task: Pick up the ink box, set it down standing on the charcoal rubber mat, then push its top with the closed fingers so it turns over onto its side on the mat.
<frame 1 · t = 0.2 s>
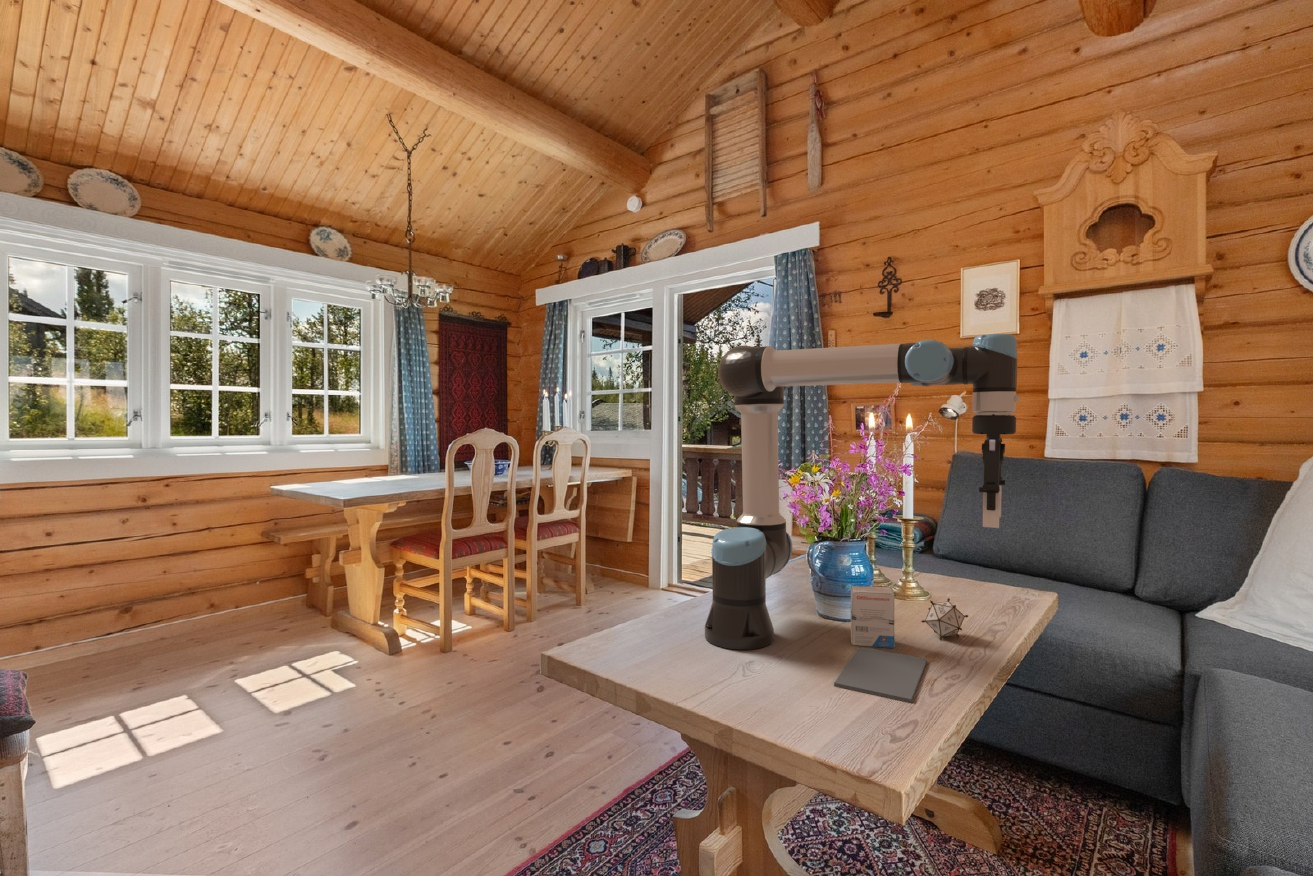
hand: (992, 522, 120), 28 cm above the table, fingers open, 13 cm apart
mat: (882, 673, 115), on the table
game die: (944, 637, 134), on the table
ink box: (871, 644, 131), on the table
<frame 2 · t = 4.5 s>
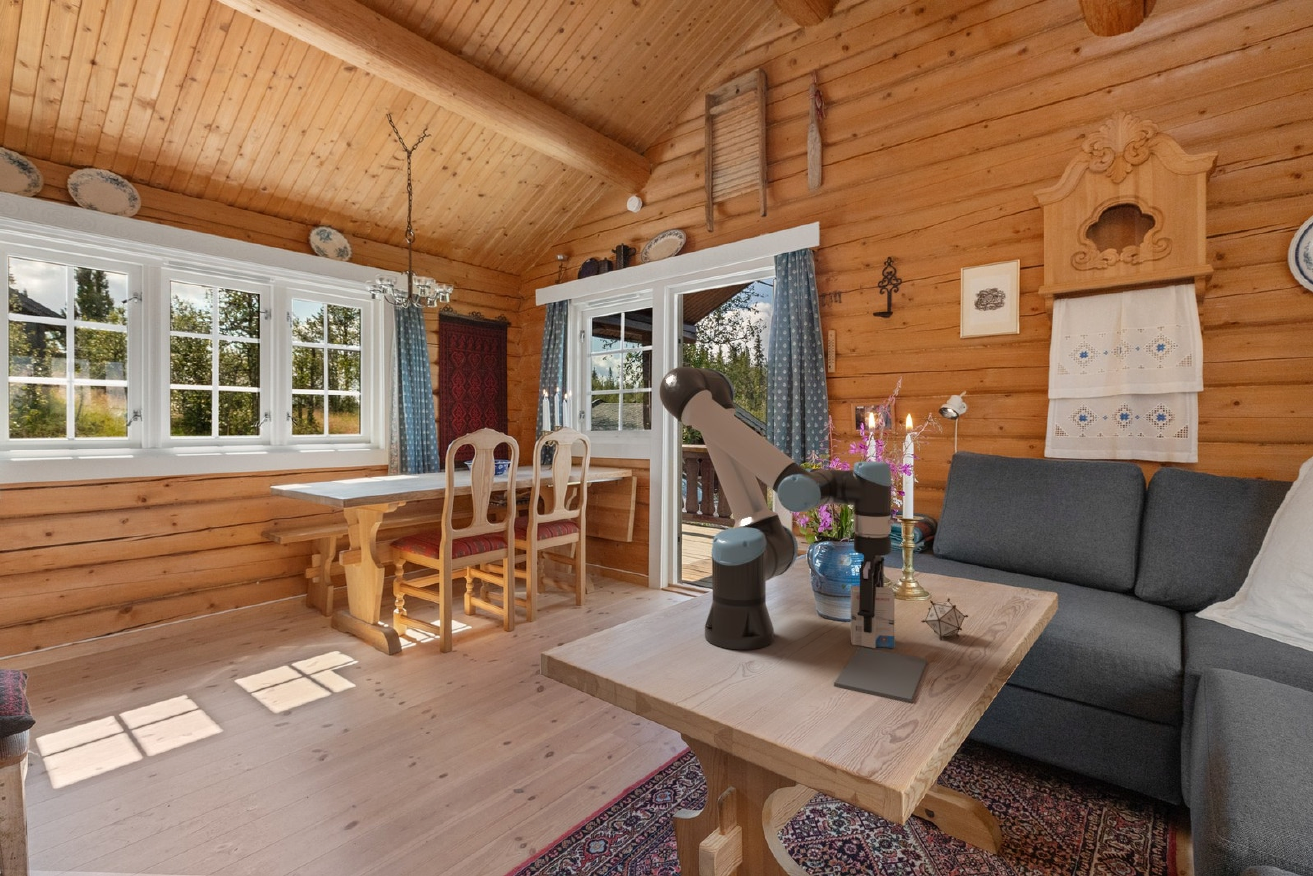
hand: (871, 641, 131), 0 cm above the table, fingers closed on ink box, 6 cm apart
ink box: (871, 644, 131), on the table, touching gripper
everything else where it was.
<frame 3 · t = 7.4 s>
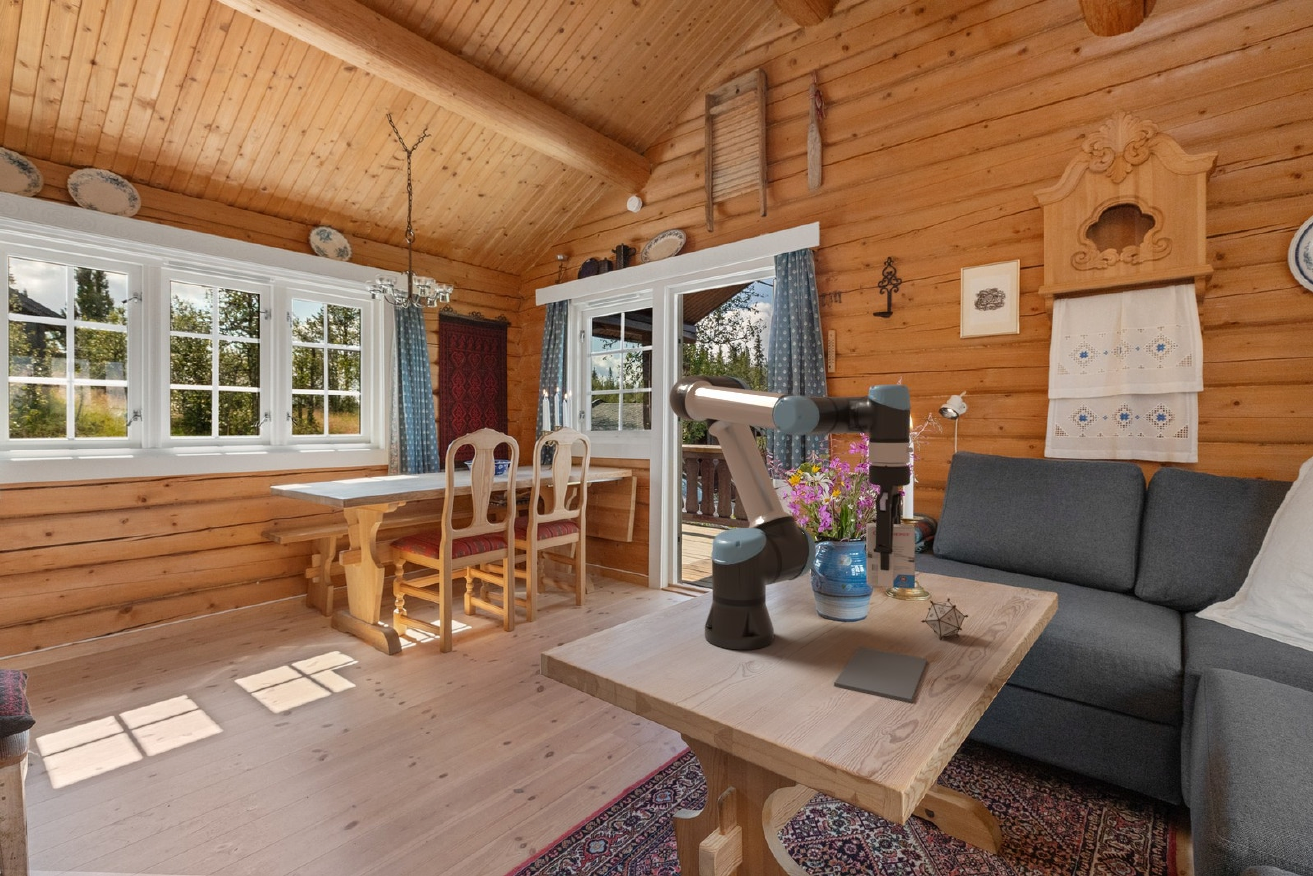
hand: (888, 582, 119), 16 cm above the table, fingers closed on ink box, 6 cm apart
ink box: (889, 585, 119), point 15 cm above the table, touching gripper
everything else where it was.
when the fingers open (2 cm above the table, at t = 10.1 s): ink box stays where it is, resting on mat.
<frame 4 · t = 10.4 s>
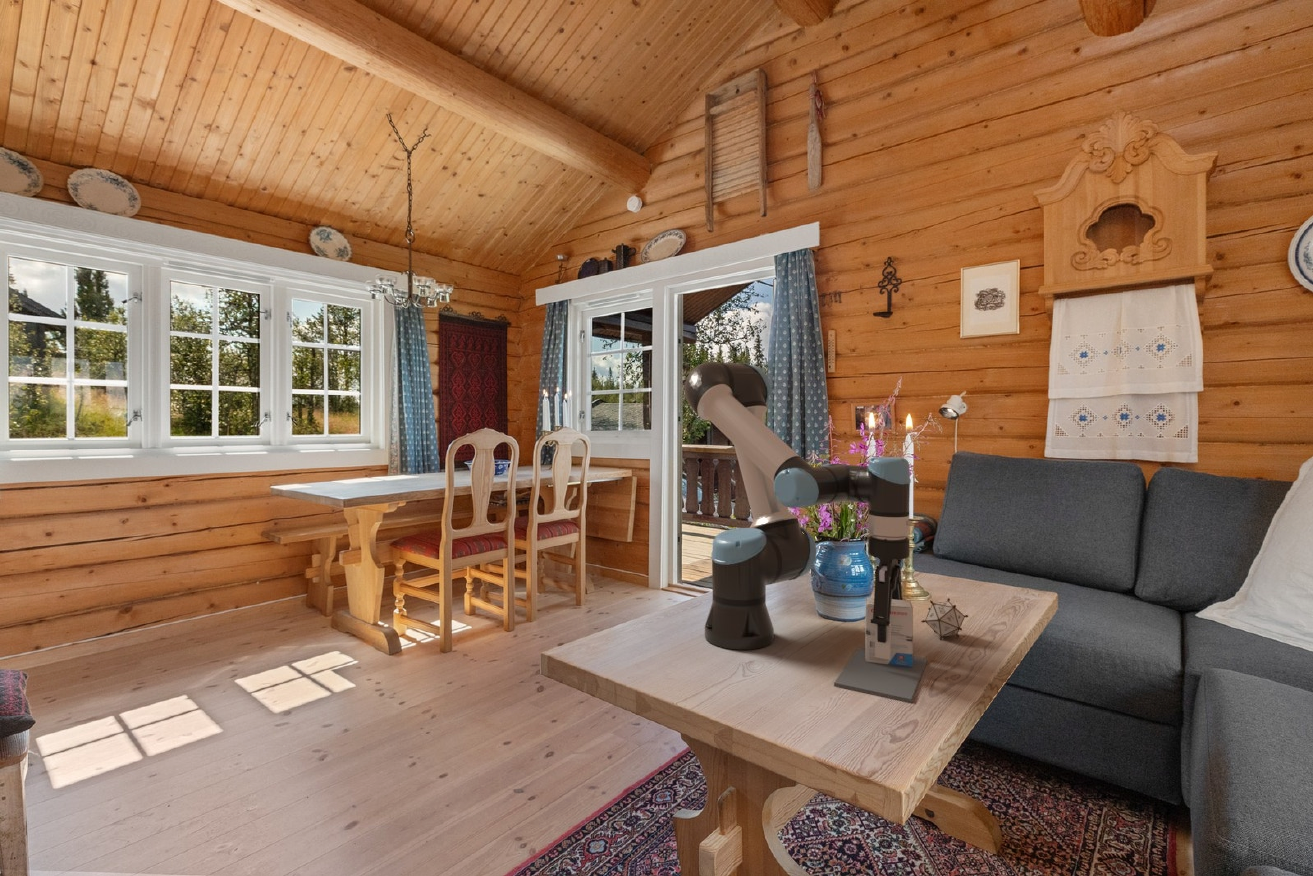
hand: (888, 648, 120), 3 cm above the table, fingers open, 10 cm apart
ink box: (888, 661, 120), resting on mat
everything else where it was.
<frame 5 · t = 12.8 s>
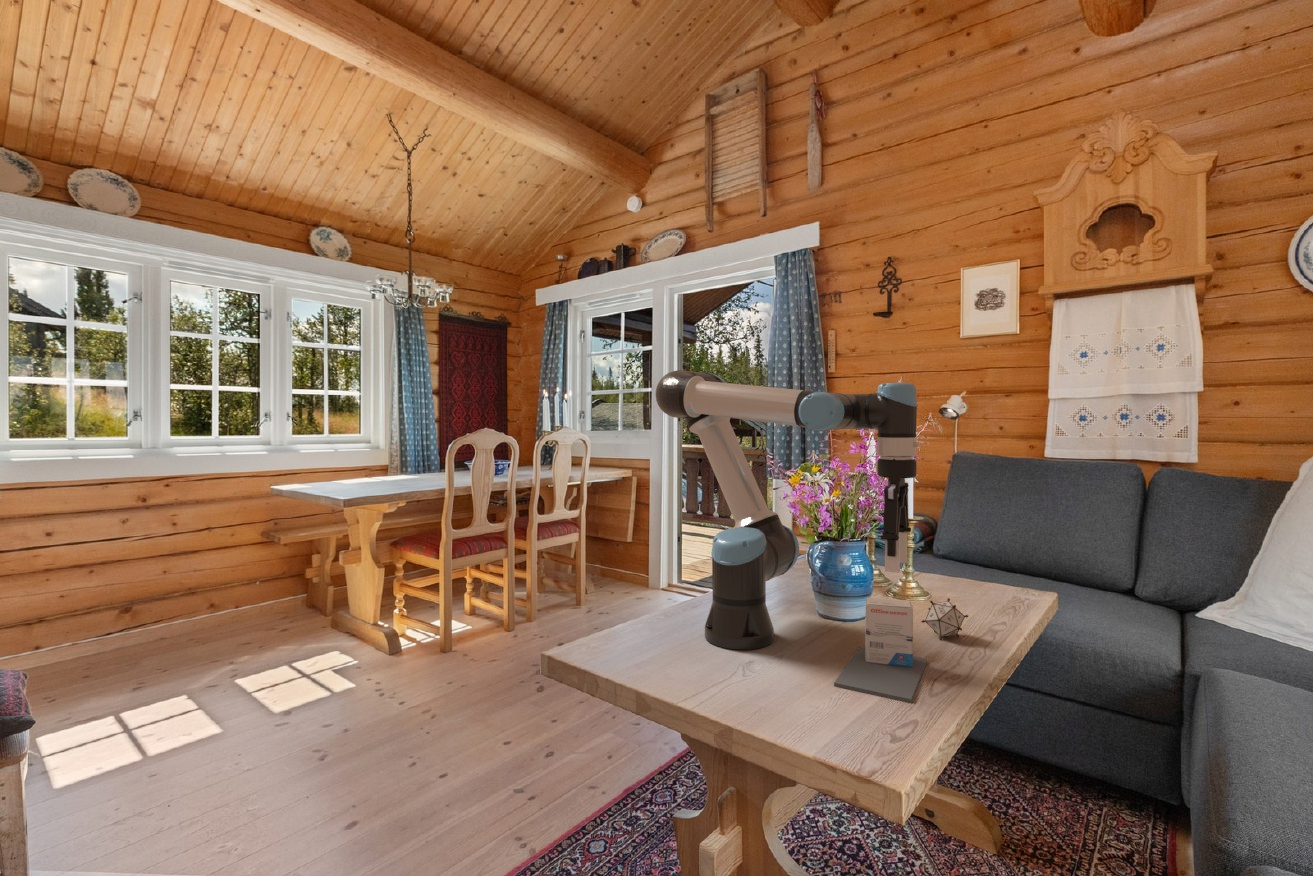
hand: (896, 566, 127), 17 cm above the table, fingers open, 8 cm apart
nothing on the table moved.
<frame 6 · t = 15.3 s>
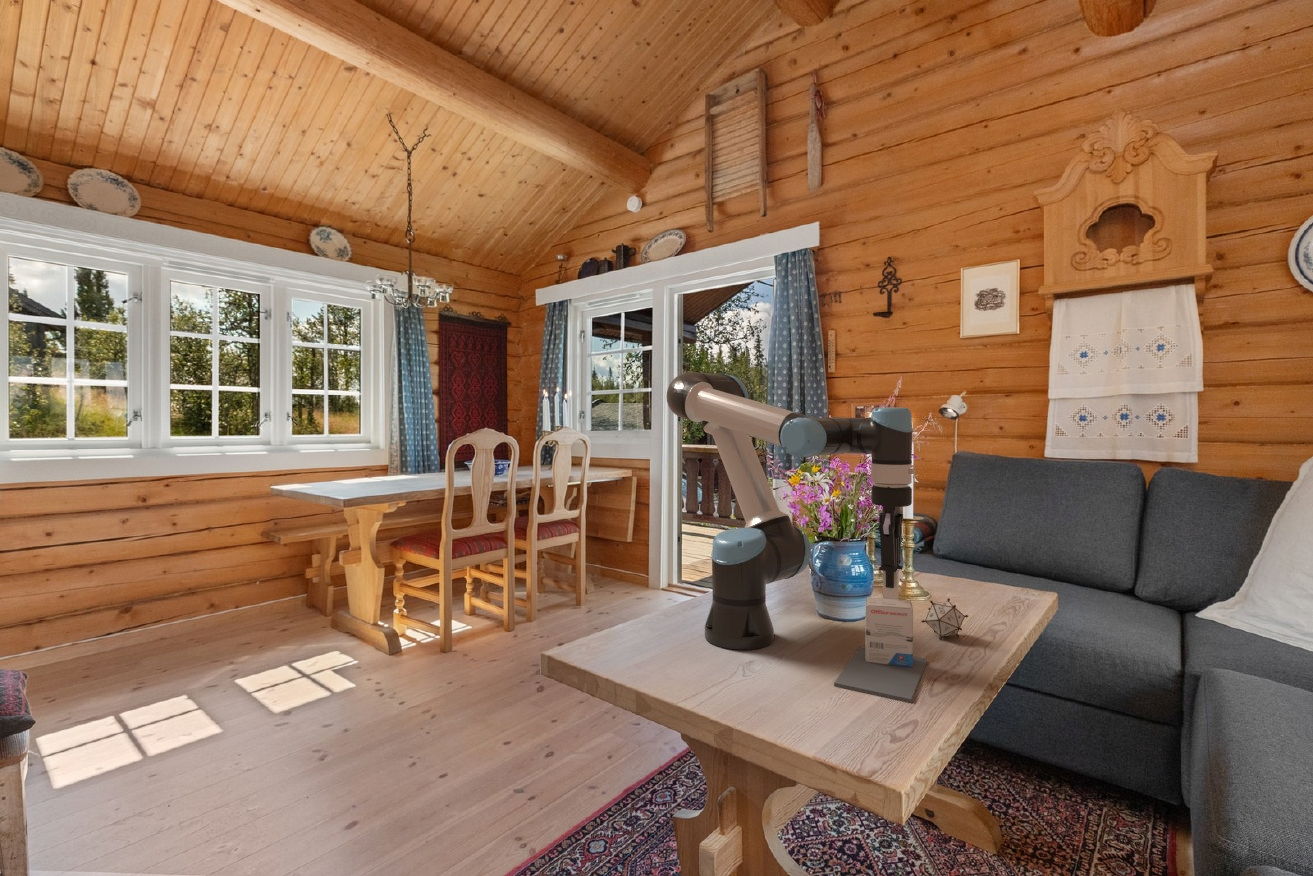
hand: (890, 602, 122), 11 cm above the table, fingers closed
ink box: (888, 661, 120), resting on mat, touching gripper
everything else where it was.
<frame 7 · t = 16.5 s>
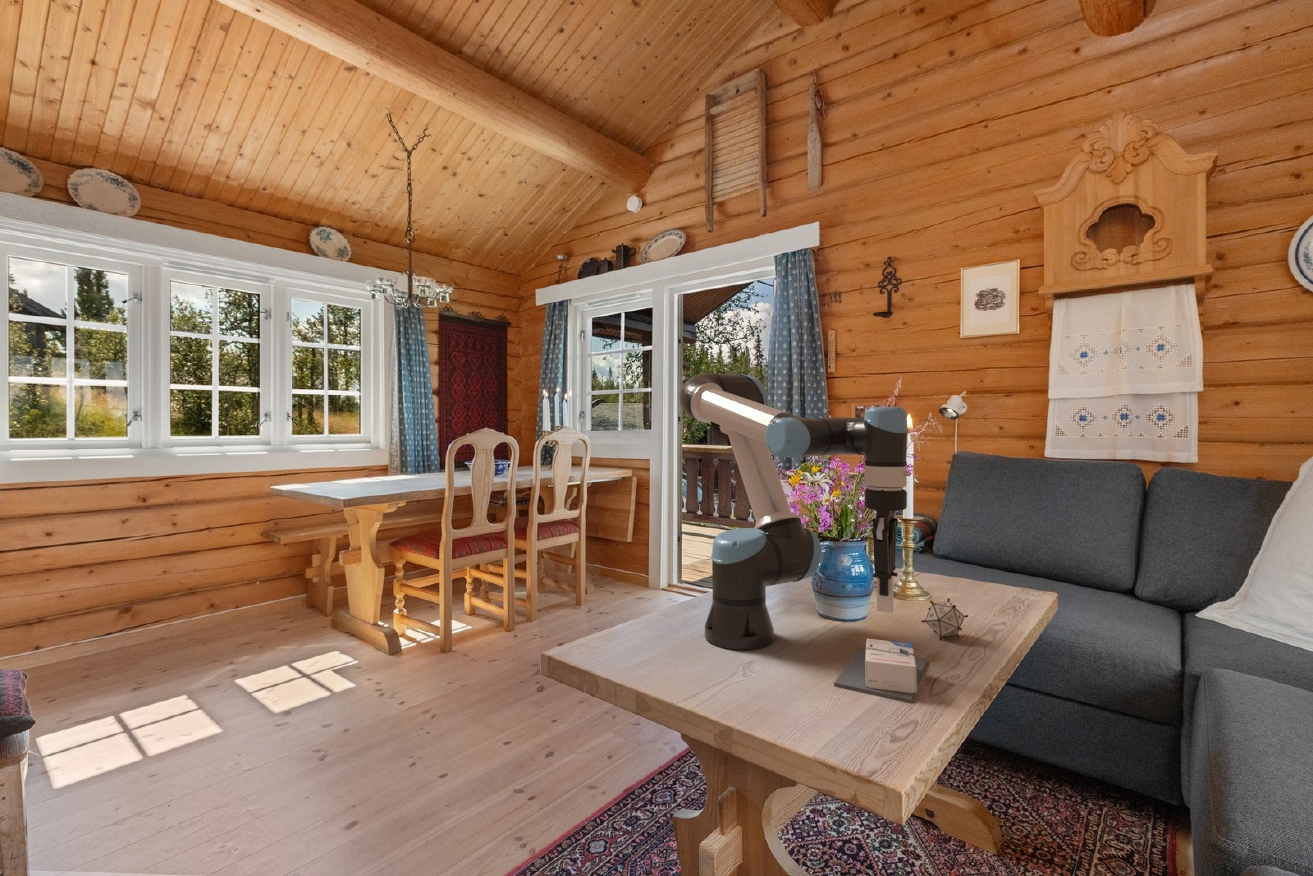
hand: (884, 610, 117), 11 cm above the table, fingers closed
ink box: (889, 653, 118), point 3 cm above the table, touching mat
everything else where it was.
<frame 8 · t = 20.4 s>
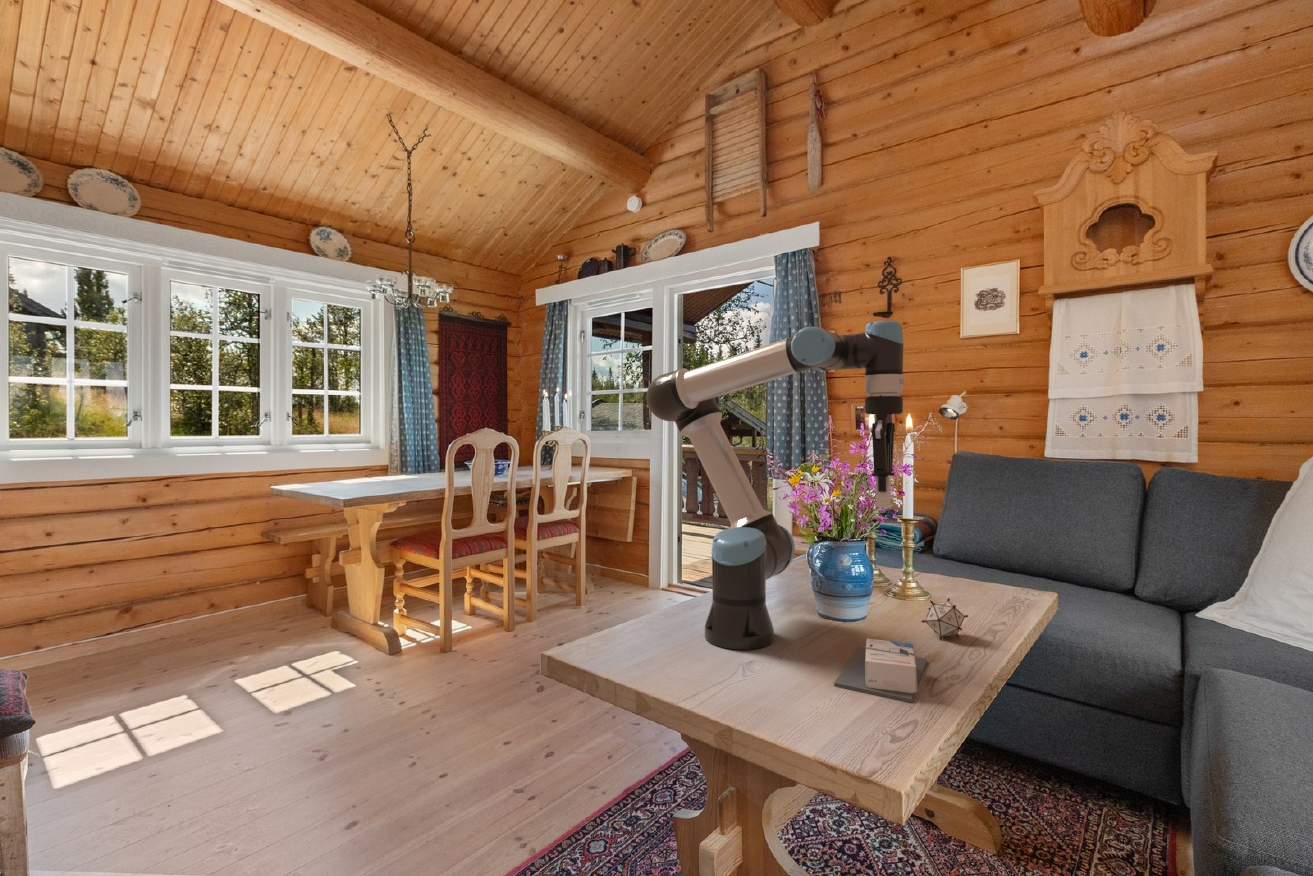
hand: (883, 506, 130), 29 cm above the table, fingers closed
nothing on the table moved.
at the end: ink box tilted 89°; ink box inside the target area (4.3 cm from its centre), point 2.9 cm above the table; the gripper is holding nothing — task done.
